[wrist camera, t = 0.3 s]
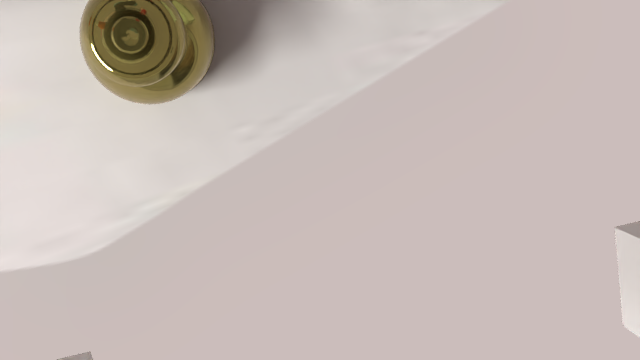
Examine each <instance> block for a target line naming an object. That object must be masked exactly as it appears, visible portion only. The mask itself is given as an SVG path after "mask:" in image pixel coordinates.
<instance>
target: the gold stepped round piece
mask: <svg viewBox="0 0 640 360" xmlns="http://www.w3.org/2000/svg"><path fill="white" fill-rule="evenodd" d="M80 44H81V49H82V53H83V56H84V59H85V61H86V63H87V65H88V67H89V69H90V71H91V72H92V74H93V75H94V76H95V78H96V79H97V80H98V81H99V82H100V83H101V84H102V85H103V86H104V87H105V88H106V89H108V90H109V91H110V92H112V93H113V94H115V95H117V96H119V97H121V98H123V99H125V100H128V101H131V102H135V103H140V104H160V103H165V102H169V101H172V100H175V99H177V98H179V97H181V96H183V95H184V94H186V93H187V92H189V91H190V90H191V89H193V88H194V87H195V86H196V85H197V84H198V83H199V82H200V81H201V80H202V78H203V77H204V76H205V74H206V72H207V70H208V68H209V66H210V64H211V61H212V58H213V53H214V44H215V39H214V30H213V26H212V22H211V19H210V17H209V14H208V12H207V10H206V9H205V7H204V5H203V4H202V2H201V1H200V0H89V1H88V3H87V4H86V6H85V9H84V11H83V15H82V18H81V23H80Z"/></svg>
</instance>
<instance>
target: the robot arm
mask: <svg viewBox="0 0 640 360" xmlns="http://www.w3.org/2000/svg"><path fill="white" fill-rule="evenodd" d="M615 239H616V250H617V260H618V261H617V262H618V273H619V285H620V296H621V308H622V319H623V326H624V327H625V328H627V329H628V330H630V331H631V332H633V333H634V334H635V335H637V336H638V337H639V338H640V221H639V222H634V223H630V224H626V225H622V226H617V227H615ZM57 360H93V359H92V355H91V352H87V353H82V354H78V355H73V356H70V357H65V358H61V359H57Z"/></svg>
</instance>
